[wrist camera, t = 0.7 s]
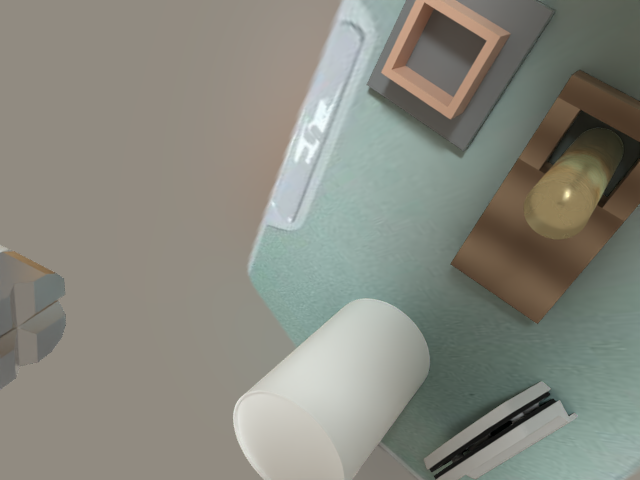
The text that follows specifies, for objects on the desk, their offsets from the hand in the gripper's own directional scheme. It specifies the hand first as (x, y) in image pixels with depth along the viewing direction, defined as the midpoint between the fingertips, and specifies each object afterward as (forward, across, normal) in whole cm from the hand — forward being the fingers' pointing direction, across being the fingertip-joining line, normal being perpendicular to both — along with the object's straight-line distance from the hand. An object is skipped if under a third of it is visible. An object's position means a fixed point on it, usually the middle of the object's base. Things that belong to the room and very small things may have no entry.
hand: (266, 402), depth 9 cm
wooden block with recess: (+46, -9, +11) cm, 48 cm away
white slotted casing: (+47, -14, +38) cm, 62 cm away
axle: (+46, -10, +6) cm, 47 cm away
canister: (+50, +2, +38) cm, 63 cm away
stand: (+49, +5, +2) cm, 49 cm away
